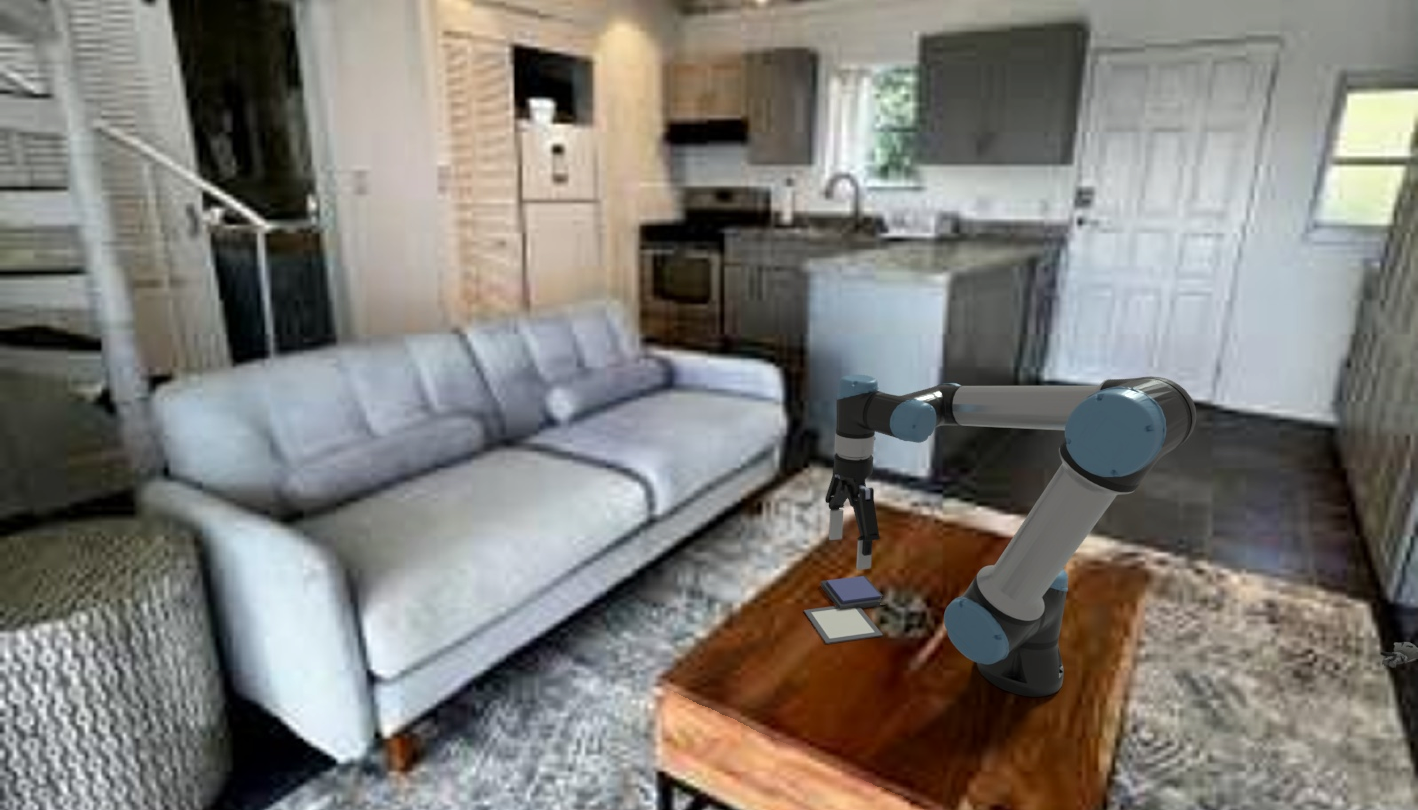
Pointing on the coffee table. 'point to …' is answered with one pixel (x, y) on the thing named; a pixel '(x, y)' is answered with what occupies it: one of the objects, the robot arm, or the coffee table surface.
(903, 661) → the coffee table surface
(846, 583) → the ink pad
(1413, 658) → the grey lumpy piece
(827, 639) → the grey picture frame
